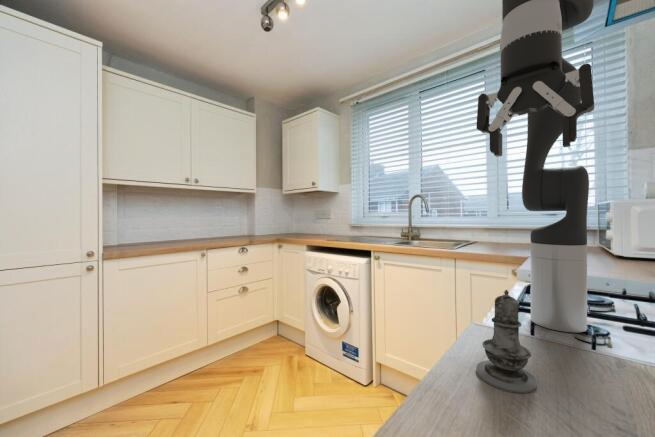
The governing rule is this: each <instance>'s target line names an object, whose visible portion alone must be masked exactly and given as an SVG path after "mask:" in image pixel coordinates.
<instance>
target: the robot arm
mask: <svg viewBox="0 0 655 437" xmlns="http://www.w3.org/2000/svg"><path fill="white" fill-rule="evenodd" d="M594 1H595V0H502V2H501V3H502V4H501V5H502V7H501V8H502V9H501V16H502V17H501V18H502V20H501V24H502V26H501V33H500V44H499V52H500V87H499V90H498V91H497V92H493V93H490V94H486V93H484V92H483V93H481V94H479V95H478V98H477V112H476V113H477V114H476V130H478V131H479V132H481V133H483V134H488V135H489V152H490V153H492V154H493V156H494V157H496V158H498V157H502V156H503V133H501V132H502V130H503V129H504V128H505V126H506V125H507V124H508V123H509V122H510V121H511V120H512V118H513V117H514V116H515V115H518V116H523V115H526V114H527V137H526V138H527V140H526V141H527V142H526V152H525V160H524V168H523V174H522V186H521V187H522V188H521V200H522V204H523V207H524V209H526V210H527V211H529V212H566V213H565V216H564V217H563V218H561V219H560V220H557V221H556V222H553V223H552V224H549V225H548V224H547V225H544V226H540V227H536V228H533V229H532V230H531V231H530V321H531V322H532V323H534V324H536V325H538V326H540V327H543V328H546V329H550V330H554V331H558V332H565V333H577V334H578V333H583V332H587V330H588V233H587V232H588V231H587V230H588V229H587V226H588V220H587V219H588V204H589V194H590V192H589V191H590V179H589V178H590V177H589V172H588V171H587V169H586V167H584V166H583V165H566V166H556V167H548V168H547V167H546V168H544V167H545V163H546V160H547V157H548V155H549V153H550V151H551V149H552V148H553V146H554V145H555V143H556V142H557V140H558V139H559V138H560V137H561V135H562V146H563V148H568V147H571V143H574V142H576V140H577V138H578V137H577V136H578V127H577V126H578V124H577V122H578V119H579V118H580V116H583V115H585V114H587V113H591V112H593V111H594V109H595V97H594V96H595V95H594V87H593V75H592V74H593V73H592V66H591V64H590V63H584V64H582V65H580V66H579V68H578V69H577V68H576V67H575V66H574V65H573V64H572V63H571V62H570V61H568V60H567V58H566V59H565V58H564V57H563V56H562V54H563V53H562V52H563V47H562V46H563V44H562V43H563V42H562V41H563V37H562V35H563V34H562V32H565V31H566V30H569V29H572V28H574V27H577V26H579V25H580V24H583V23H585V21H587V20H588V19H589V18H590V16H591V15H592V11H593V9H594ZM497 101H499V102H500V103H501V104H502V106H501V107H500V108H499V110H498V111H497V113H496V115H495V117H494V119H493V120H492V121H491V123H490V115H491V114H490V113H491V109H492V108H493V107H494V106H495V103H496V102H497Z"/></svg>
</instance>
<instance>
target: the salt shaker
mask: <svg viewBox="0 0 655 437" xmlns="http://www.w3.org/2000/svg"><path fill="white" fill-rule="evenodd" d="M503 293H504V294H502V295H499V296H497V297H496V298H495V299H494V316H493V317H492V318H491V321H492V323H493V335H492V338H489V339H485V340H484V341H482V347H483V348H484V353H485V355H486V357H487V360H490V361H491V363H488V364H486V365H485V367H484V369H485V371H486V372H487V373H488V374H489V375H490V376H492V377H494V378H496V379H498V380H500V381H503V382H507V383H512V384H524V383H526V382H527V381H528V376H527V375H526V374H525V373H524V372H523V371H522V370H520V369H522V368H523V369H525V368H526V366H527V364H528V362H529V359H530V358H531V357H532V353H531V351H530V350H529V349H527V347H525V346H523V345H521V342H520V339H519V338H520V337H519V334H520V332H519V329H520V327H522V323H521V322H520V321H519V302H518V300H517V299H516V298H514V297H512V296H511V295H510V292H509V291H508V289H505V290H504V291H503Z"/></svg>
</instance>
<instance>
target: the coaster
mask: <svg viewBox="0 0 655 437" xmlns="http://www.w3.org/2000/svg"><path fill="white" fill-rule="evenodd" d="M488 363H491V361H490V360H489V359H487V360H482V361H480V362H478V363H477V364H476V374H477V377H479V378H480V379H481V380H482V381H483V382H485V383H486V384H488V385H490V386H492V387H494V388H497V389H499V390H502V391H504V392H505V391H506V392H510V393H514V394H515V393H516V394H528V393H531V392H534V391H535V390H536V389H537V380H536V377H535V376H534V375H533V374H532V373H531V372H530V371H528V370H527V369H525V368H522V369H520V370H522V371H523V372H524V373H525V374H526V375H527V376H528V381H527V382H526V383H524V384H512V383H507V382H503V381H500V380H498V379H496V378H494V377H492V376H490V375H489V374H488V373H487V372H486V371H485V369H484V367H485V365H486V364H488Z"/></svg>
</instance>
